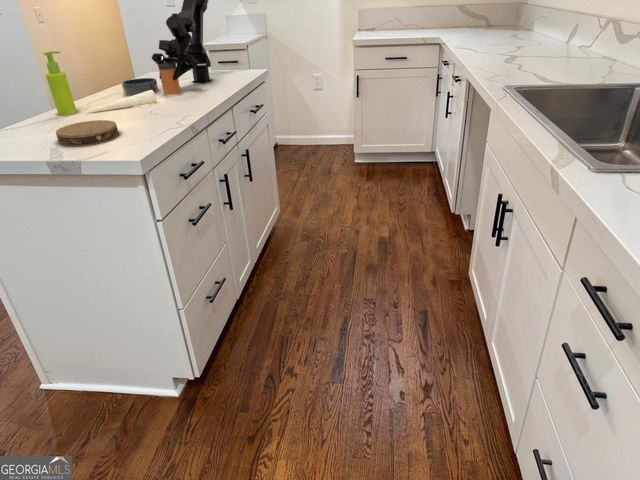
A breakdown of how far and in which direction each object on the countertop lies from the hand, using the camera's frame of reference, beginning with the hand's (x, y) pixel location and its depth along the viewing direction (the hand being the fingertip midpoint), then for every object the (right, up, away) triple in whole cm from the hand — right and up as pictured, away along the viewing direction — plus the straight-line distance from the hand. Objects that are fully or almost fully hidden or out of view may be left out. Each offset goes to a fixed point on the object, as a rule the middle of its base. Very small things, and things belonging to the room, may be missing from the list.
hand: (167, 79), depth 174 cm
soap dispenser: (-29, -18, -17) cm, 38 cm away
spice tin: (+1, -5, +4) cm, 6 cm away
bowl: (-13, -3, +7) cm, 15 cm away
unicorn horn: (-10, -15, -14) cm, 23 cm away
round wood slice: (-7, -34, -46) cm, 57 cm away
